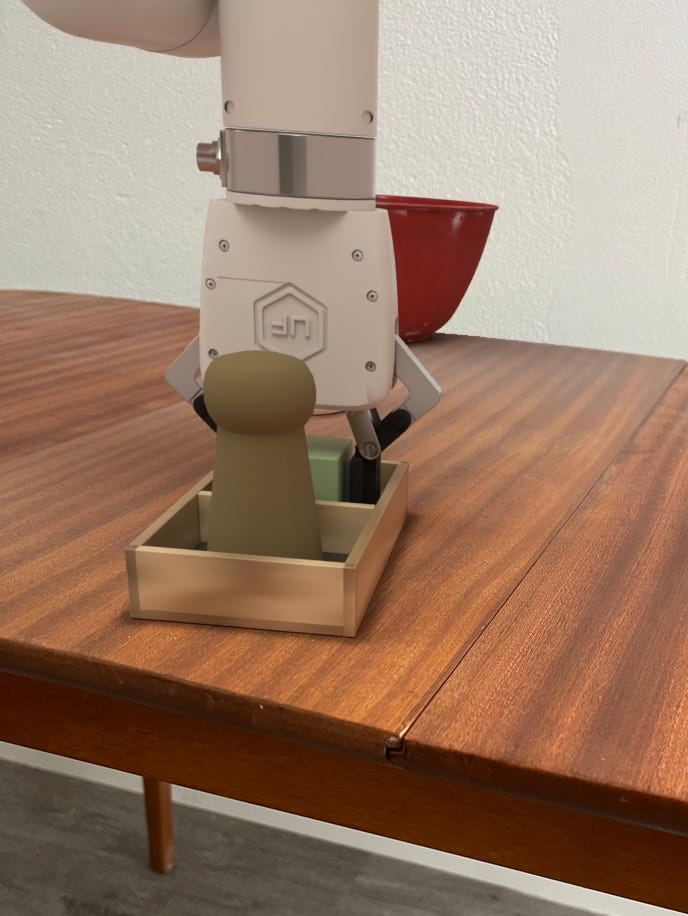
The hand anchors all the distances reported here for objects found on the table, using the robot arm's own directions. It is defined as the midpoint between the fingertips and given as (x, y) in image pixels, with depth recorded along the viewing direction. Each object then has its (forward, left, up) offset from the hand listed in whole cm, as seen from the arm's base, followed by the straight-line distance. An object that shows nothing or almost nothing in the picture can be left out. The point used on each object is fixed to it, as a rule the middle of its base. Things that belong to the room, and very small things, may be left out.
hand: (305, 512), depth 59 cm
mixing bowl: (-8, +70, -2) cm, 71 cm away
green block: (0, 0, -1) cm, 1 cm away
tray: (0, -4, -1) cm, 4 cm away
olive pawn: (0, -9, -1) cm, 9 cm away
